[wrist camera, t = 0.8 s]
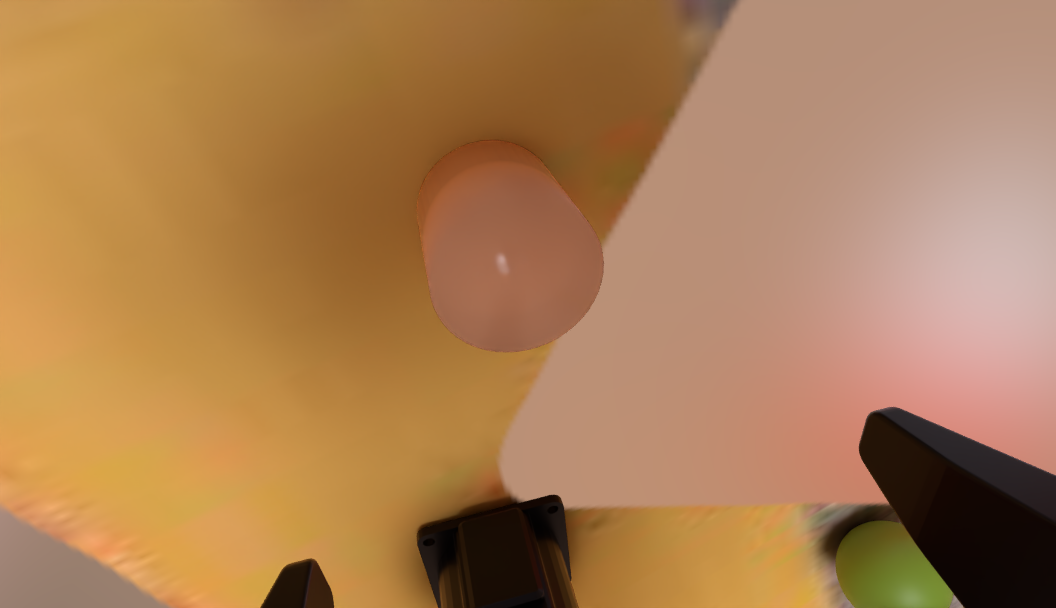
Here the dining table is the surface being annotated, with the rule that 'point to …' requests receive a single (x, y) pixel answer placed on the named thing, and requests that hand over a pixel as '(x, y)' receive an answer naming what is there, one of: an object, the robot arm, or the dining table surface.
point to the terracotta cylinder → (505, 248)
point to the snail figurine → (888, 569)
